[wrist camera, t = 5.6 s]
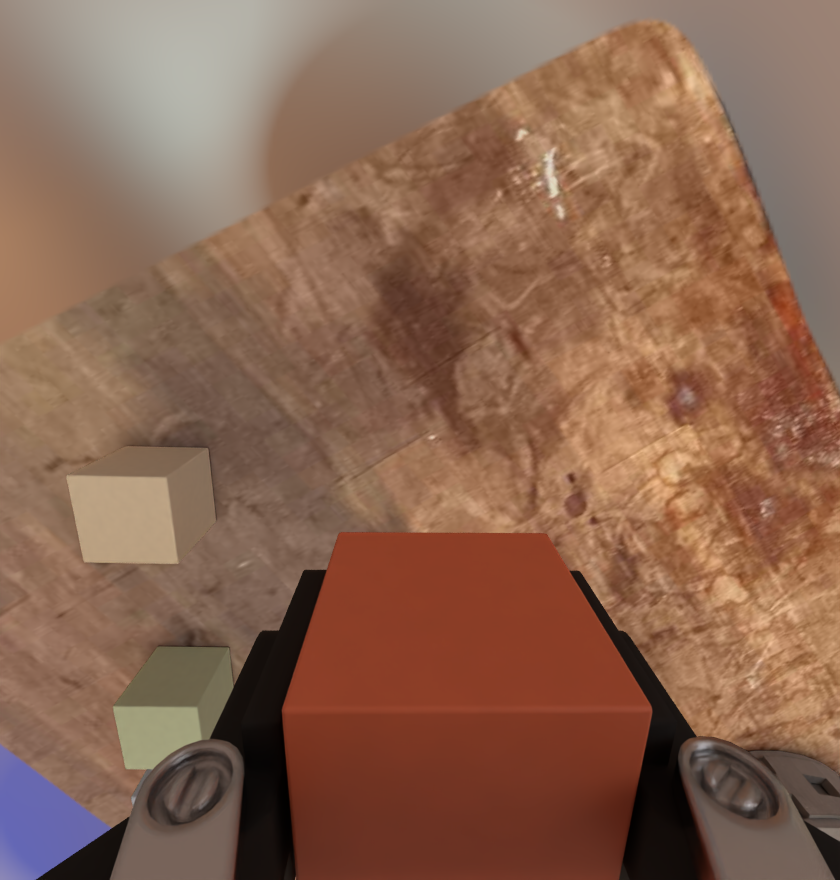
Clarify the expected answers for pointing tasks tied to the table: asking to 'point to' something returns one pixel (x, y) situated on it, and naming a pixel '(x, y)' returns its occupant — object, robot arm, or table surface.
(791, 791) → the ring
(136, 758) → the block sage
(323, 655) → the block coral
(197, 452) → the block cream
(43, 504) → the table surface
